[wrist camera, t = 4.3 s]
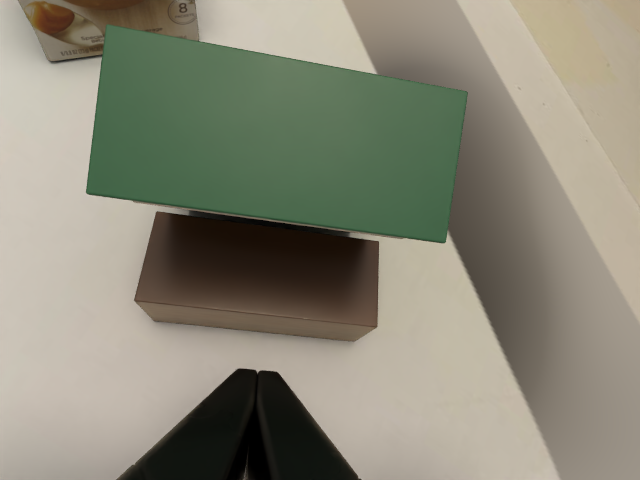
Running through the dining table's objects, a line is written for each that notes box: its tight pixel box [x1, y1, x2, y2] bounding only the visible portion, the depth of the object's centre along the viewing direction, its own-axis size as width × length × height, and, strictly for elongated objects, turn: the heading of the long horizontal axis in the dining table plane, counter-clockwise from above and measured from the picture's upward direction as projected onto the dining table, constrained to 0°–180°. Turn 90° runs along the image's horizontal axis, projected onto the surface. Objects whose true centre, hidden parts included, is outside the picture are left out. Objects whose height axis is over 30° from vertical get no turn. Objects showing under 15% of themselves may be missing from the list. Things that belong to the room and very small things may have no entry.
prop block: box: [134, 212, 379, 341], centre depth 20 cm, size 4×10×4 cm, turn 86°
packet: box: [86, 24, 468, 243], centre depth 17 cm, size 4×9×13 cm, turn 86°
